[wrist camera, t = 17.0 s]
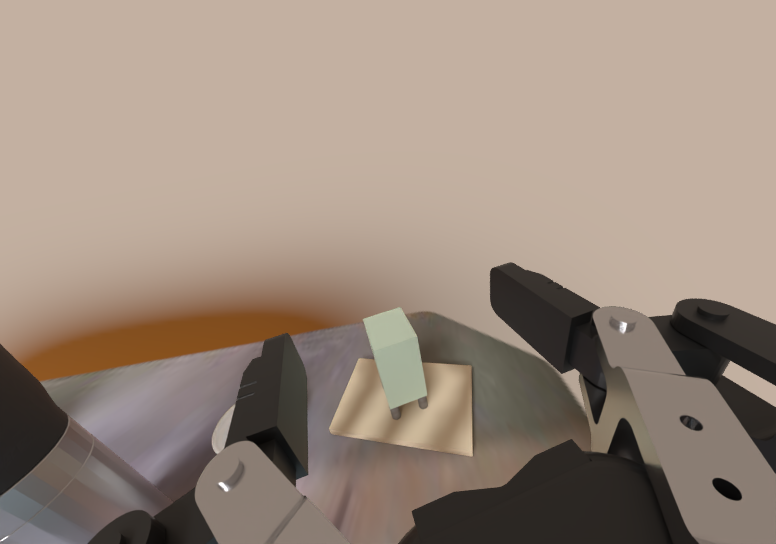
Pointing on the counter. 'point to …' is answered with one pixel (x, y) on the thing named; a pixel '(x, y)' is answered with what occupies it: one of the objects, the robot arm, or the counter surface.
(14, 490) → the robot arm
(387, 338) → the green block
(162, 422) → the counter surface
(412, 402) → the peg board
